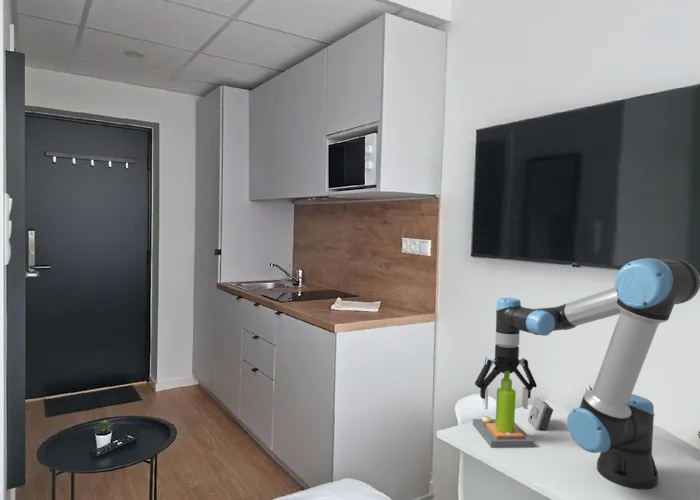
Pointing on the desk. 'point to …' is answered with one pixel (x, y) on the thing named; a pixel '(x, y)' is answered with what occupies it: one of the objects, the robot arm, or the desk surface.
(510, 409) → the soap dispenser
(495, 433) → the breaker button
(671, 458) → the desk surface
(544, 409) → the electrical switch
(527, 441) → the grey tray
